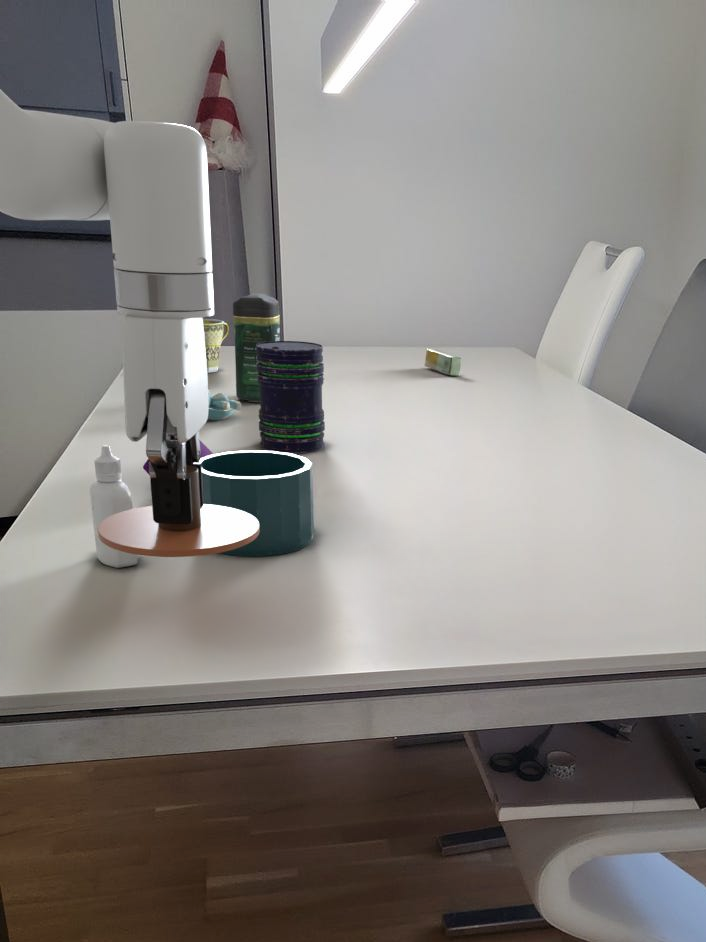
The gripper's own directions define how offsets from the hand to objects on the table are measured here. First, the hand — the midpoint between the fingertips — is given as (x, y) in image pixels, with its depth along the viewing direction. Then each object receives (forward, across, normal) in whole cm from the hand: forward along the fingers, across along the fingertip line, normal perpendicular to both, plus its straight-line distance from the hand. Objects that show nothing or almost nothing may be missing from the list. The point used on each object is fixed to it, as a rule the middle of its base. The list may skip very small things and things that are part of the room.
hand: (179, 513), depth 90 cm
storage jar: (+10, -70, 0) cm, 71 cm away
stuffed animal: (+11, -90, -16) cm, 92 cm away
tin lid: (+2, 0, 0) cm, 2 cm away
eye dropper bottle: (+10, -15, -10) cm, 21 cm away
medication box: (+11, -147, +24) cm, 149 cm away
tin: (+10, -24, +2) cm, 26 cm away
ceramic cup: (+11, -139, -26) cm, 142 cm away
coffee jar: (+11, -108, -10) cm, 109 cm away
